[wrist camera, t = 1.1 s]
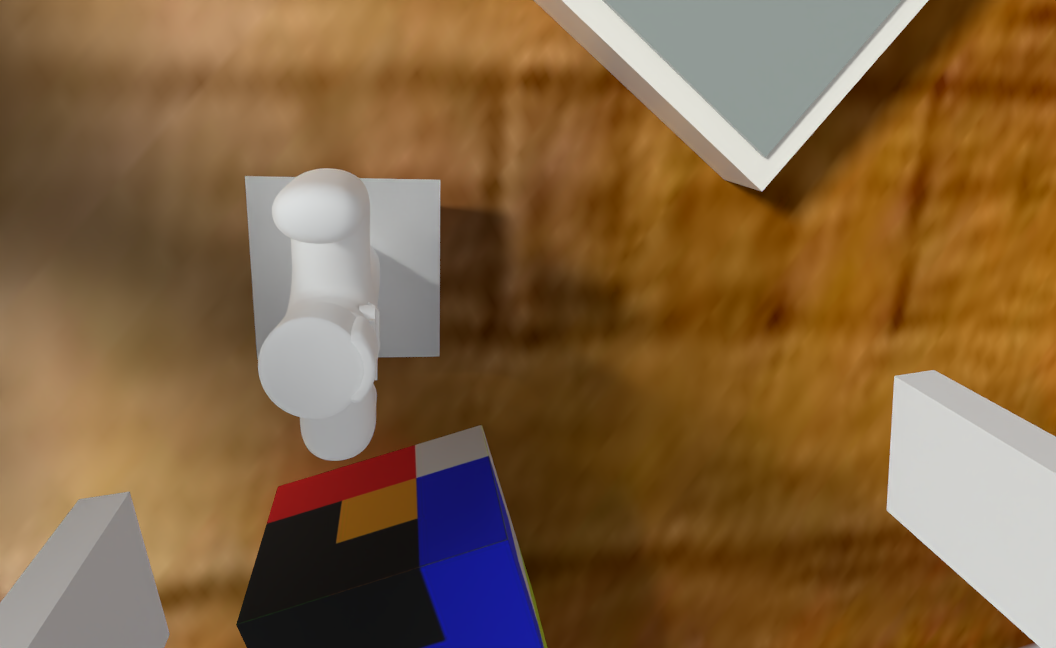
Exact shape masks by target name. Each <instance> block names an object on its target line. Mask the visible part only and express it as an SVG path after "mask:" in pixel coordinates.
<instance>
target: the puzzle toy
mask: <svg viewBox="0 0 1056 648" xmlns="http://www.w3.org/2000/svg"><path fill="white" fill-rule="evenodd" d="M236 625H237V627H238V629H239V631H240V634H241V636H242V638H243V640H244V642H245V644H246V646H247V648H547V644H546V640H545V637H544V633H543V629H542V625H541V621H540V617H539V613H538V609H537V605H536V601H535V597H534V593H533V590H532V587H531V583H530V580H529V577H528V574H527V570H526V567H525V564H524V561H523V557H522V554H521V551H520V547H519V544H518V541H517V538H516V534H515V531H514V528H513V525H512V521H511V518H510V515H509V512H508V508H507V505H506V502H505V499H504V495H503V492H502V489H501V486H500V482H499V479H498V476H497V472H496V469H495V466H494V463H493V459H492V456H491V453H490V450H489V446H488V443H487V440H486V437H485V433H484V430H483V427H482V425H479V426H476V427H473V428H470V429H466V430H463V431H460V432H456V433H453V434H450V435H447V436H443V437H440V438H437V439H433V440H430V441H427V442H423V443H420V444H417V445H414V446H410V447H407V448H404V449H400V450H397V451H394V452H391V453H387V454H384V455H381V456H377V457H374V458H371V459H368V460H364V461H361V462H358V463H354V464H351V465H348V466H344V467H341V468H338V469H335V470H331V471H328V472H325V473H321V474H318V475H315V476H312V477H308V478H305V479H302V480H298V481H295V482H292V483H288V484H285V485H282V486H279V487H278V489H277V492H276V495H275V498H274V502H273V505H272V508H271V512H270V515H269V518H268V522H267V525H266V528H265V532H264V535H263V538H262V541H261V545H260V548H259V551H258V555H257V558H256V561H255V565H254V568H253V571H252V575H251V578H250V581H249V584H248V588H247V591H246V594H245V598H244V601H243V604H242V608H241V611H240V614H239V618H238V621H237V624H236Z"/></svg>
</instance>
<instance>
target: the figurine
mask: <svg viewBox="0 0 1056 648" xmlns="http://www.w3.org/2000/svg"><path fill="white" fill-rule="evenodd" d="M245 186H246V200H247V215H248V230H249V245H250V260H251V274H252V289H253V304H254V319H255V334H256V348H257V359H258V372H259V378H260V381H261V384H262V386H263V388H264V390H265V392H266V394H267V395H268V396H269V398H270V399H271V400H272V401H273V402H274V403H275V404H276V405H277V406H278V407H279V408H281V409H282V410H284V411H285V412H287V413H289V414H292V415H294V416H297V417H300V428H301V434H302V438H303V441H304V443H305V445H306V447H307V448H308V449H309V451H310V452H311V453H312V454H314V455H315V456H317V457H319V458H321V459H324V460H330V461H339V460H346V459H349V458H352V457H354V456H356V455H358V454H360V453H361V452H362V451H363V450H364V449H365V448H366V447H367V445H368V444H369V442H370V440H371V438H372V436H373V433H374V430H375V425H376V402H377V392H376V388H375V386H374V384H373V383H374V380H377V360H378V357H435V356H440V180H424V179H371V178H358V177H357V176H355V175H353V174H352V173H349V172H347V171H344V170H339V169H330V168H324V169H315V170H311V171H308V172H304V173H303V174H301V175H299V176H297V177H265V176H245Z"/></svg>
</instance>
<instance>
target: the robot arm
mask: <svg viewBox="0 0 1056 648" xmlns="http://www.w3.org/2000/svg"><path fill="white" fill-rule="evenodd" d="M887 511H888V512H889V513H890V514H891V515H892V516H894V517H895V518H896V519H897V520H898V521H899V522H900V523H901V524H902V525H904V526H905V527H906V528H907V529H908V530H909V531H910V532H911V533H913V534H914V535H915V536H916V537H917V538H918V539H919V540H920V541H922V542H923V543H924V544H925V545H926V546H927V547H928V548H929V549H931V550H932V551H933V552H934V553H935V554H936V555H937V556H938V557H940V558H941V559H942V560H943V561H944V562H945V563H946V564H947V565H949V566H950V567H951V568H952V569H953V570H954V571H955V572H956V573H957V574H959V575H960V576H961V577H962V578H963V579H964V580H965V581H966V582H968V583H969V584H970V585H971V586H972V587H973V588H974V589H975V590H977V591H978V592H979V593H980V594H981V595H982V596H983V597H984V598H986V599H987V600H988V601H989V602H990V603H991V604H992V605H993V606H995V607H996V608H997V609H998V610H999V611H1000V612H1001V613H1002V614H1003V615H1005V616H1006V617H1007V618H1008V619H1009V620H1010V621H1011V622H1012V623H1014V624H1015V625H1016V626H1017V627H1018V628H1019V629H1020V630H1021V631H1023V632H1024V633H1025V634H1026V635H1027V636H1028V637H1029V638H1030V639H1032V640H1033V641H1034V642H1035V643H1036V644H1037V645H1038V646H1039V647H1041V648H1056V437H1055V436H1053V435H1051V434H1050V433H1048V432H1046V431H1044V430H1042V429H1040V428H1039V427H1037V426H1035V425H1033V424H1031V423H1030V422H1028V421H1026V420H1024V419H1022V418H1020V417H1019V416H1017V415H1015V414H1013V413H1011V412H1010V411H1008V410H1006V409H1004V408H1002V407H1000V406H999V405H997V404H995V403H993V402H991V401H989V400H988V399H986V398H984V397H982V396H980V395H979V394H977V393H975V392H973V391H971V390H969V389H968V388H966V387H964V386H962V385H960V384H958V383H957V382H955V381H953V380H951V379H949V378H948V377H946V376H944V375H942V374H940V373H938V372H937V371H935V370H931V371H924V372H918V373H911V374H905V375H898V376H894V393H893V410H892V427H891V444H890V462H889V479H888V496H887ZM168 637H169V630H168V626H167V623H166V619H165V616H164V612H163V609H162V605H161V602H160V598H159V595H158V591H157V587H156V584H155V580H154V577H153V573H152V570H151V566H150V563H149V559H148V555H147V552H146V548H145V545H144V541H143V538H142V534H141V531H140V527H139V523H138V520H137V516H136V513H135V509H134V506H133V502H132V499H131V495H130V492H124V493H118V494H111V495H104V496H98V497H91V498H85V499H79V500H78V501H77V503H76V504H75V505H74V507H73V508H72V509H71V511H70V512H69V513H68V515H67V516H66V517H65V518H64V520H63V521H62V522H61V524H60V525H59V526H58V528H57V529H56V530H55V532H54V533H53V534H52V536H51V537H50V538H49V539H48V541H47V542H46V543H45V545H44V546H43V547H42V549H41V550H40V551H39V553H38V554H37V555H36V557H35V558H34V559H33V560H32V562H31V563H30V564H29V566H28V567H27V568H26V570H25V571H24V572H23V574H22V575H21V576H20V578H19V579H18V580H17V581H16V583H15V584H14V585H13V587H12V588H11V589H10V591H9V592H8V593H7V595H6V596H5V597H4V599H3V600H2V601H1V602H0V648H164V647H165V644H166V642H167V639H168Z"/></svg>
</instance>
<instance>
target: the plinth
mask: <svg viewBox="0 0 1056 648" xmlns="http://www.w3.org/2000/svg"><path fill="white" fill-rule="evenodd" d="M534 1H535V2H536V3H537V4H538V5H539V6H540V7H541V8H542V9H543V10H544V11H545V12H547V13H548V14H549V15H550V16H551V17H552V18H553V19H554V20H555V21H556V22H557V23H558V24H559V25H560V26H561V27H562V28H564V29H565V30H566V31H567V32H568V33H569V34H570V35H571V36H572V37H573V38H574V39H575V40H576V41H577V42H578V43H579V44H581V45H582V46H583V47H584V48H585V49H586V50H587V51H588V52H589V53H590V54H591V55H592V56H593V57H594V58H595V59H596V60H598V61H599V62H600V63H601V64H602V65H603V66H604V67H605V68H606V69H607V70H608V71H609V72H610V73H611V74H612V75H613V76H615V77H616V78H617V79H618V80H619V81H620V82H621V83H622V84H623V85H624V86H625V87H626V88H627V89H628V90H629V91H630V92H632V93H633V94H634V95H635V96H636V97H637V98H638V99H639V100H640V101H641V102H642V103H643V104H644V105H645V106H646V107H647V108H649V109H650V110H651V111H652V112H653V113H654V114H655V115H656V116H657V117H658V118H659V119H660V120H661V121H662V122H663V123H664V124H666V125H667V126H668V127H669V128H670V129H671V130H672V131H673V132H674V133H675V134H676V135H677V136H678V137H679V138H680V139H681V140H683V141H684V142H685V143H686V144H687V145H688V146H689V147H690V148H691V149H692V150H693V151H694V152H695V153H696V154H697V155H698V156H700V157H701V158H702V159H703V160H704V161H705V162H706V163H707V164H708V165H709V166H710V167H711V168H712V169H713V170H714V171H715V172H717V173H718V174H719V175H720V176H721V177H722V178H723V179H724V180H727V181H730V182H733V183H736V184H740V185H743V186H746V187H749V188H752V189H755V190H758V191H763V190H764V189H765V188H766V186H767V185H768V184H769V183H770V182H771V181H772V180H773V178H774V177H775V176H776V175H777V174H778V173H779V172H780V170H781V169H782V168H783V167H784V166H785V165H786V163H787V162H788V161H789V160H790V159H791V158H792V157H793V155H794V154H795V153H796V152H797V151H798V150H799V149H800V147H801V146H802V145H803V144H804V143H805V142H806V141H807V139H808V138H809V137H810V136H811V135H812V134H813V132H814V131H815V130H816V129H817V128H818V127H819V126H820V124H821V123H822V122H823V121H824V120H825V119H826V118H827V116H828V115H829V114H830V113H831V112H832V111H833V110H834V108H835V107H836V106H837V105H838V104H839V103H840V101H841V100H842V99H843V98H844V97H845V96H846V95H847V93H848V92H849V91H850V90H851V89H852V88H853V87H854V85H855V84H856V83H857V82H858V81H859V80H860V78H861V77H862V76H863V75H864V74H865V73H866V72H867V70H868V69H869V68H870V67H871V66H872V65H873V64H874V62H875V61H876V60H877V59H878V58H879V57H880V56H881V54H882V53H883V52H884V51H885V50H886V49H887V47H888V46H889V45H890V44H891V43H892V42H893V41H894V39H895V38H896V37H897V36H898V35H899V34H900V33H901V31H902V30H903V29H904V28H905V27H906V26H907V25H908V23H909V22H910V21H911V20H912V19H913V18H914V16H915V15H916V14H917V13H918V12H919V11H920V10H921V8H922V7H923V6H924V5H925V4H926V3H927V2H928V0H534Z"/></svg>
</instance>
